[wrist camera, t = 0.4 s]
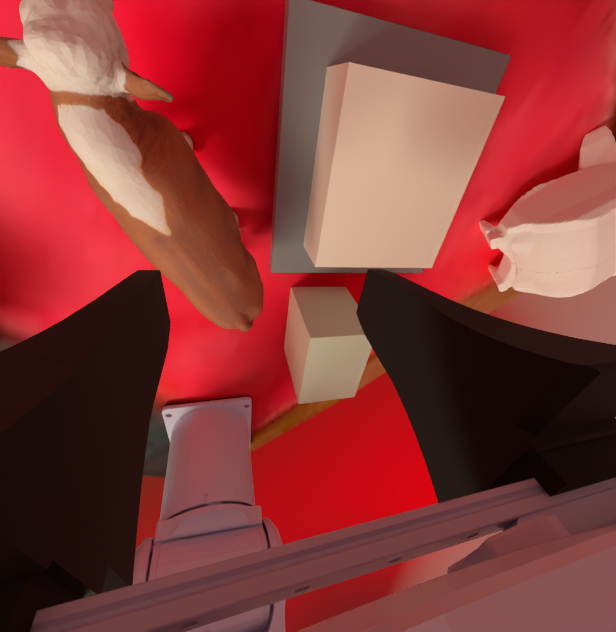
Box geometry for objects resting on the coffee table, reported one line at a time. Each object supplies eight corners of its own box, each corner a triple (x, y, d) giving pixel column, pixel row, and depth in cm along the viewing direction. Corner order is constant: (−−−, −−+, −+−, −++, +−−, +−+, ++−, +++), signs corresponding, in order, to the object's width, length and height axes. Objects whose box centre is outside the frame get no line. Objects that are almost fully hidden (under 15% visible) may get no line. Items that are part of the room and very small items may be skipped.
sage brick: (330, 344, 27) (354, 396, 22) (283, 348, 26) (298, 404, 21) (345, 285, 23) (376, 333, 19) (290, 286, 22) (310, 338, 17)
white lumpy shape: (480, 259, 29) (694, 185, 22) (512, 324, 24) (809, 252, 17) (464, 186, 24) (739, 60, 17) (500, 249, 18) (928, 101, 12)
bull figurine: (147, -10, 12) (66, -129, 5) (264, 266, 20) (285, 344, 14) (43, 25, 11) (-162, -53, 5) (205, 288, 20) (200, 376, 14)
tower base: (414, 267, 24) (444, 293, 20) (269, 265, 20) (278, 296, 17) (497, 57, 16) (563, 48, 13) (285, 0, 13) (307, -29, 10)
